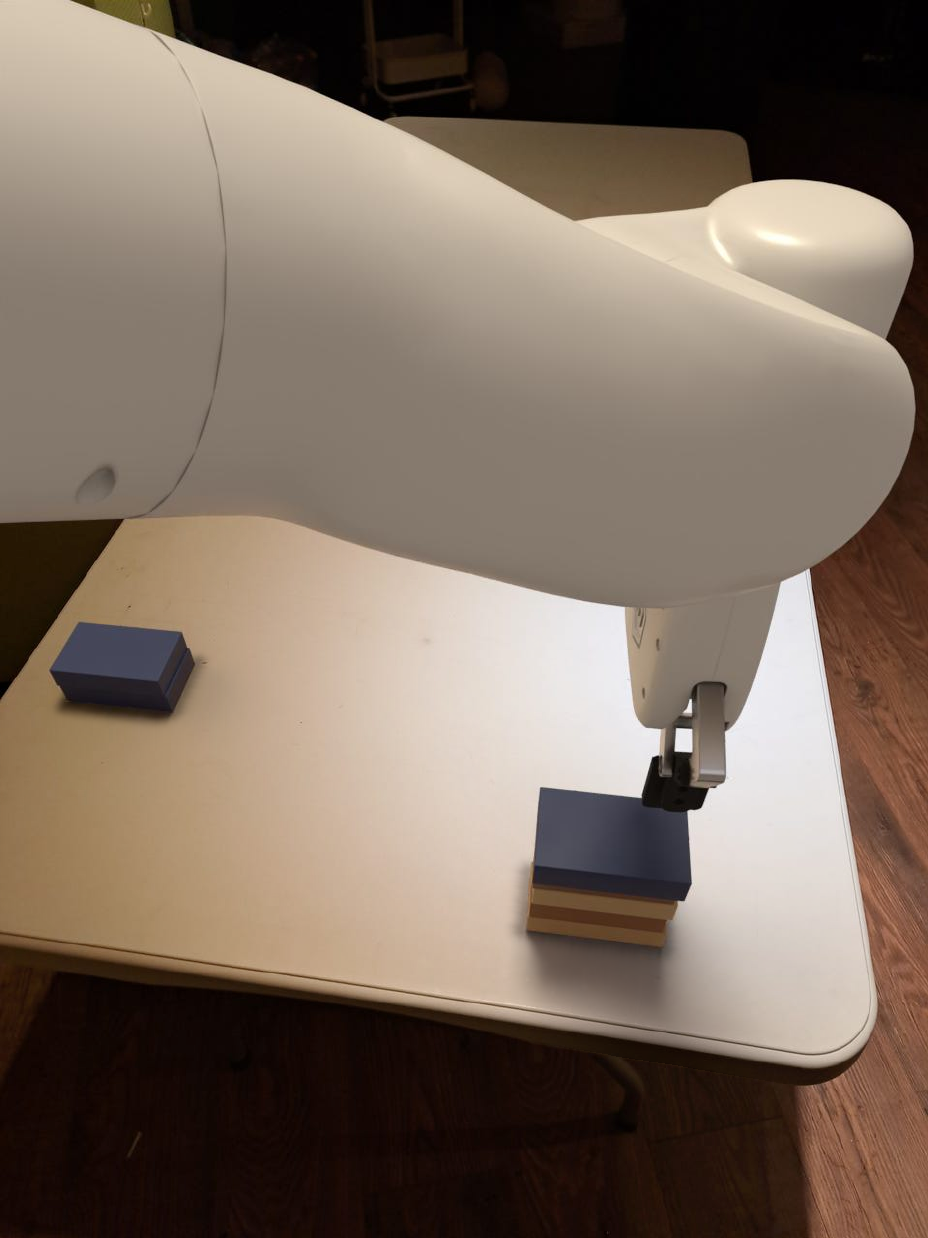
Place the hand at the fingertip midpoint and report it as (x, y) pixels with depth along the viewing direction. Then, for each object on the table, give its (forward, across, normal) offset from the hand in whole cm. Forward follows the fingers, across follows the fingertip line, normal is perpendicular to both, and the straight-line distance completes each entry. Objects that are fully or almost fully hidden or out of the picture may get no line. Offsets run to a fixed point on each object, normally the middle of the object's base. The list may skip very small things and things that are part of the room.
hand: (661, 731), depth 50 cm
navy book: (+13, +1, -2) cm, 13 cm away
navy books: (+22, -19, -44) cm, 52 cm away
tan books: (+21, +1, -2) cm, 21 cm away
